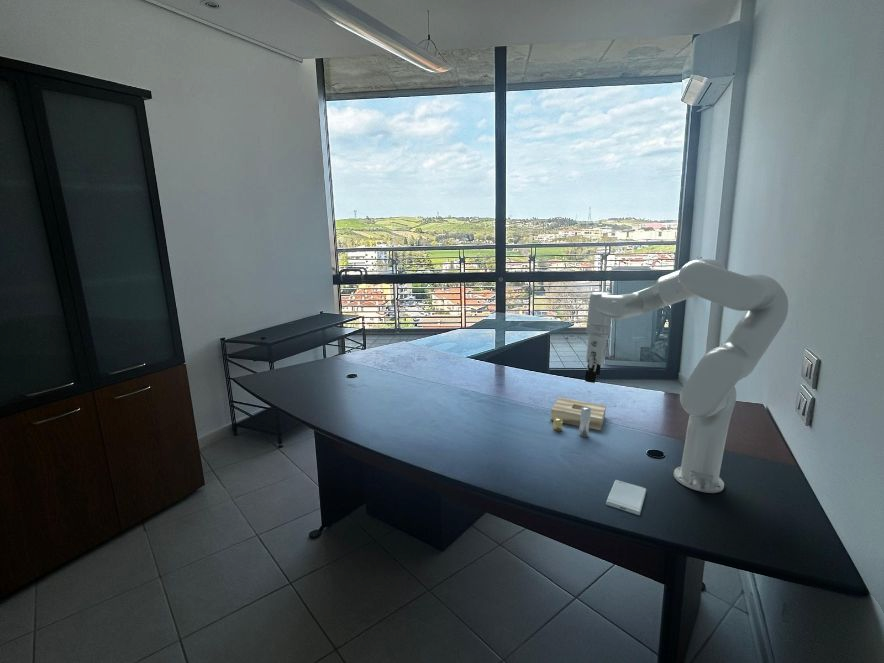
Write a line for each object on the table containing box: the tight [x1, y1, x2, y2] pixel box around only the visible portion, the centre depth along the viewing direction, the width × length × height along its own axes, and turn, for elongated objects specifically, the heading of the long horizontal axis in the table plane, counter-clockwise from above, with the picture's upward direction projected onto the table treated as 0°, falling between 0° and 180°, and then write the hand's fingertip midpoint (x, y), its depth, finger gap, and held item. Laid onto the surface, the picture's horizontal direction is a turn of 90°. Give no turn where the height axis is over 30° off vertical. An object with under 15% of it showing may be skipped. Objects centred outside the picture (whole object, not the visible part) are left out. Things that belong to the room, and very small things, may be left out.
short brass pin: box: [552, 417, 564, 432], centre depth 157 cm, size 3×3×4 cm
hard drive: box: [605, 479, 647, 516], centre depth 117 cm, size 2×8×12 cm
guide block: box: [550, 396, 607, 431], centre depth 167 cm, size 14×18×4 cm
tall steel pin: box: [578, 406, 591, 438], centre depth 153 cm, size 3×3×10 cm
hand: (592, 378), depth 150 cm, fingers open, 9 cm apart
